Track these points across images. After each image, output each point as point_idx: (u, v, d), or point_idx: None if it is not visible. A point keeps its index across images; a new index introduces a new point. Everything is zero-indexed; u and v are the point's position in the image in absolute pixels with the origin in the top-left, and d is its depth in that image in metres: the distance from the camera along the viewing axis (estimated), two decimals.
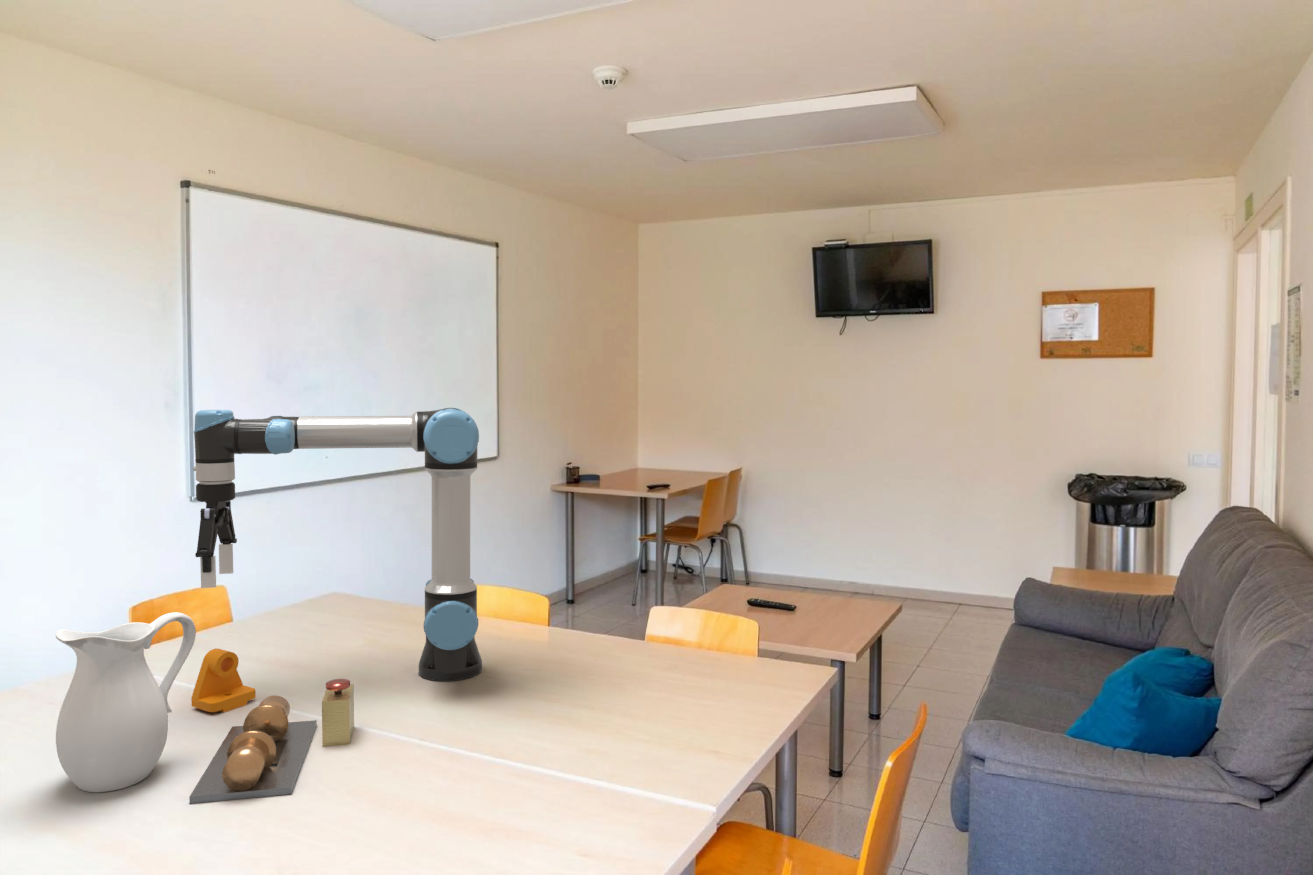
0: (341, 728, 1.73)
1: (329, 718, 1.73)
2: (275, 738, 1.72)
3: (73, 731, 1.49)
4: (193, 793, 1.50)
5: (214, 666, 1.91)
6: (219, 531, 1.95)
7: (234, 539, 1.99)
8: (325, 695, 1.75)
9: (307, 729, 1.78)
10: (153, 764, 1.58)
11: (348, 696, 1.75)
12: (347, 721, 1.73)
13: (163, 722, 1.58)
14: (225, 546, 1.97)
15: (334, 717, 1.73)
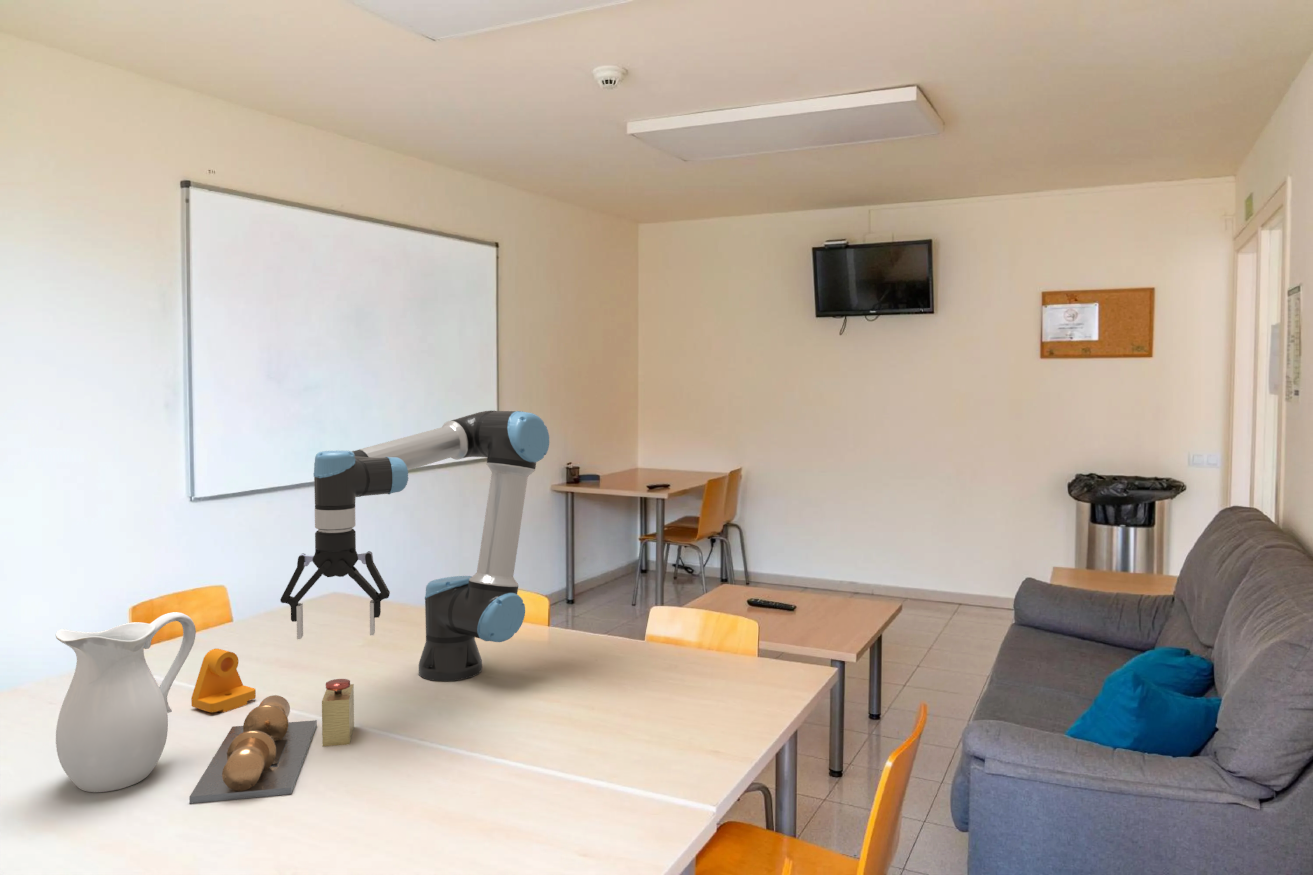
0: (341, 728, 1.73)
1: (329, 718, 1.73)
2: (275, 738, 1.72)
3: (73, 731, 1.49)
4: (193, 793, 1.50)
5: (214, 666, 1.91)
6: None
7: (377, 598, 1.76)
8: (325, 695, 1.75)
9: (307, 729, 1.78)
10: (153, 764, 1.58)
11: (348, 696, 1.75)
12: (347, 721, 1.73)
13: (163, 722, 1.58)
14: (370, 603, 1.77)
15: (334, 717, 1.73)
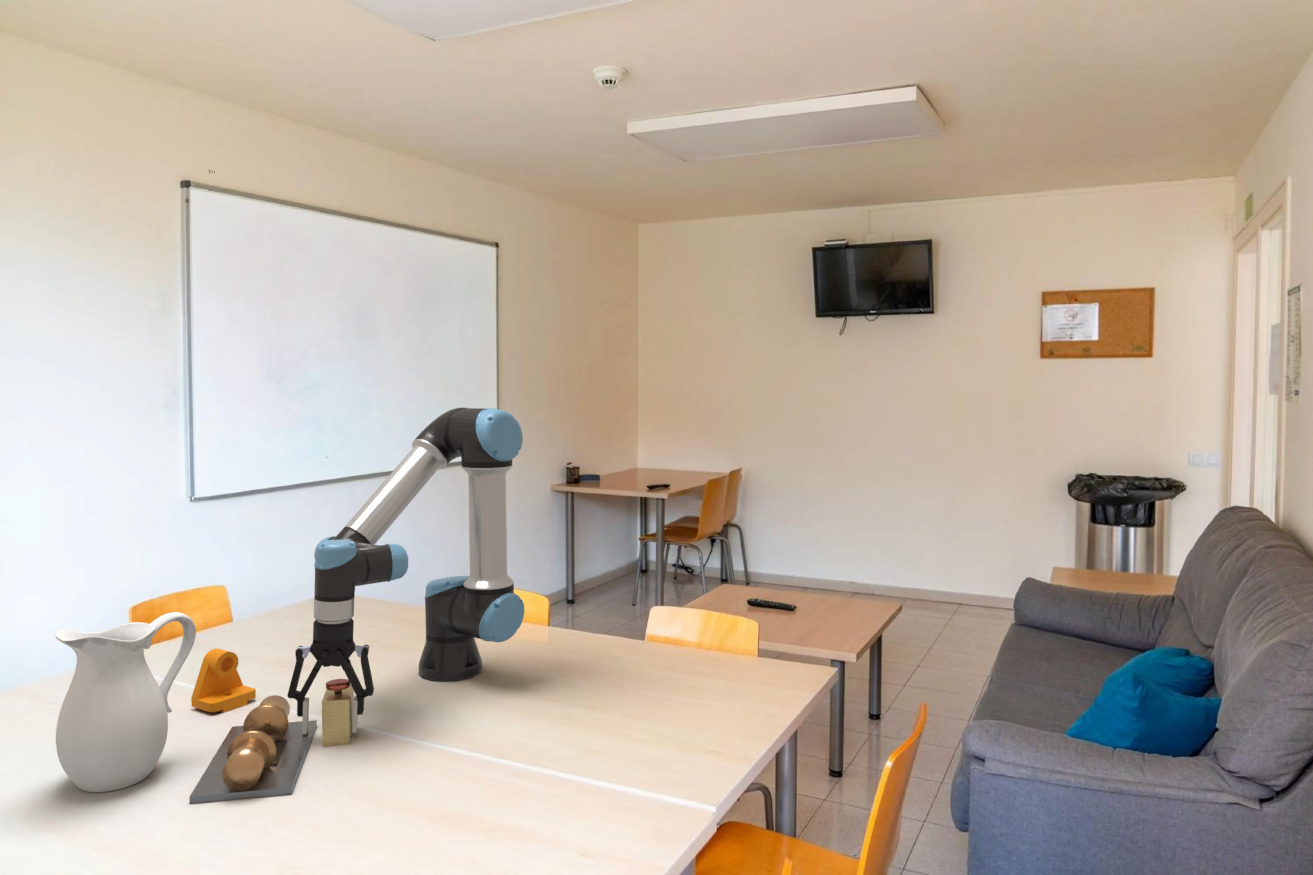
0: (341, 728, 1.73)
1: (329, 718, 1.73)
2: (275, 738, 1.72)
3: (73, 731, 1.49)
4: (193, 793, 1.50)
5: (214, 666, 1.91)
6: None
7: (361, 696, 1.76)
8: (325, 695, 1.75)
9: None
10: (153, 764, 1.58)
11: (348, 696, 1.75)
12: (347, 721, 1.73)
13: (163, 722, 1.58)
14: (353, 700, 1.78)
15: (334, 717, 1.73)
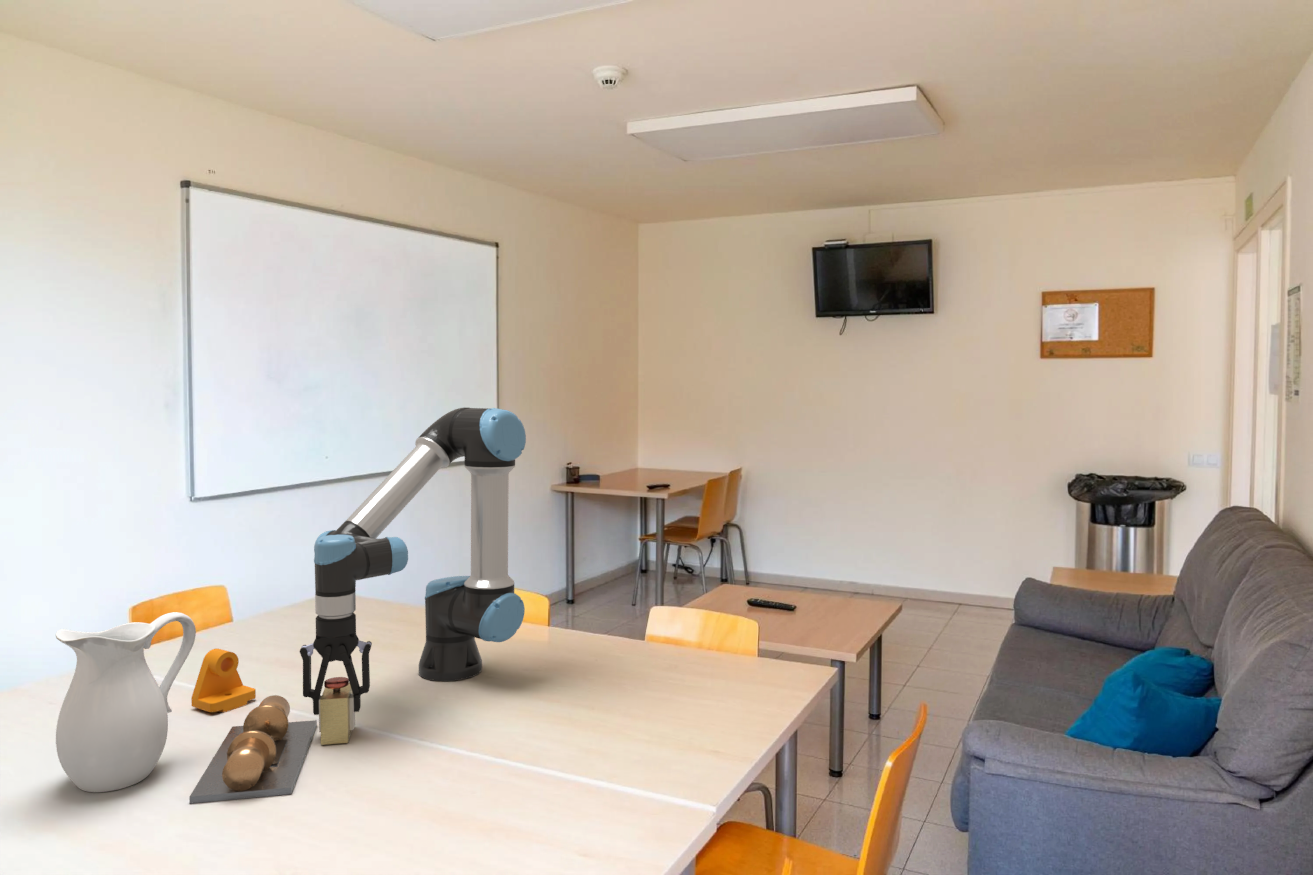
0: (340, 726, 1.73)
1: (328, 716, 1.73)
2: (275, 738, 1.72)
3: (73, 731, 1.49)
4: (193, 793, 1.50)
5: (214, 666, 1.91)
6: None
7: (357, 694, 1.76)
8: (324, 693, 1.75)
9: (307, 729, 1.78)
10: (153, 764, 1.58)
11: (346, 694, 1.75)
12: (345, 719, 1.73)
13: (163, 722, 1.58)
14: (350, 697, 1.78)
15: (332, 715, 1.73)
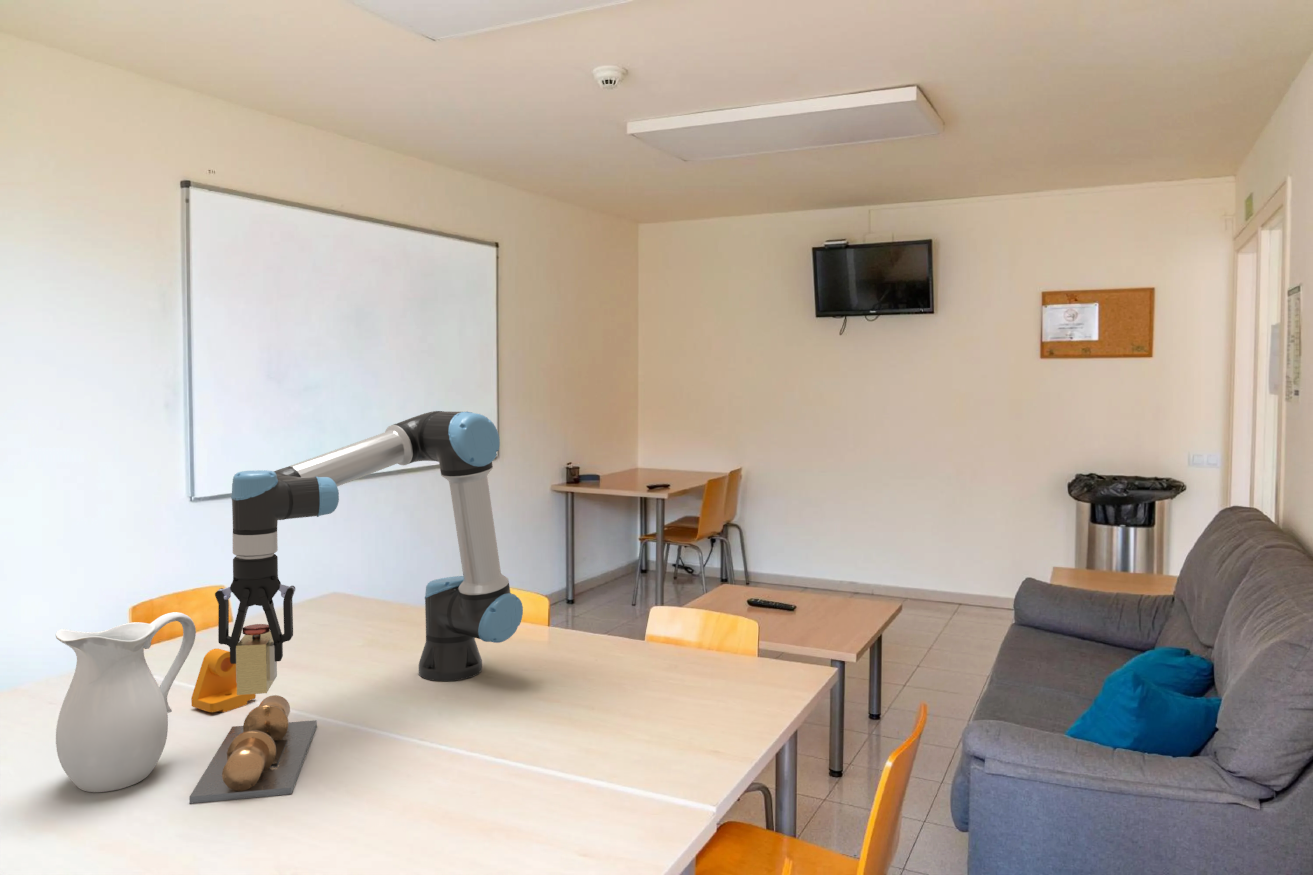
0: (258, 675, 1.60)
1: (244, 664, 1.60)
2: (275, 738, 1.72)
3: (73, 731, 1.49)
4: (193, 793, 1.50)
5: (214, 666, 1.91)
6: None
7: (278, 641, 1.64)
8: (241, 640, 1.62)
9: (307, 729, 1.78)
10: (153, 764, 1.58)
11: (266, 641, 1.62)
12: (264, 668, 1.61)
13: (163, 722, 1.58)
14: None
15: (250, 663, 1.60)
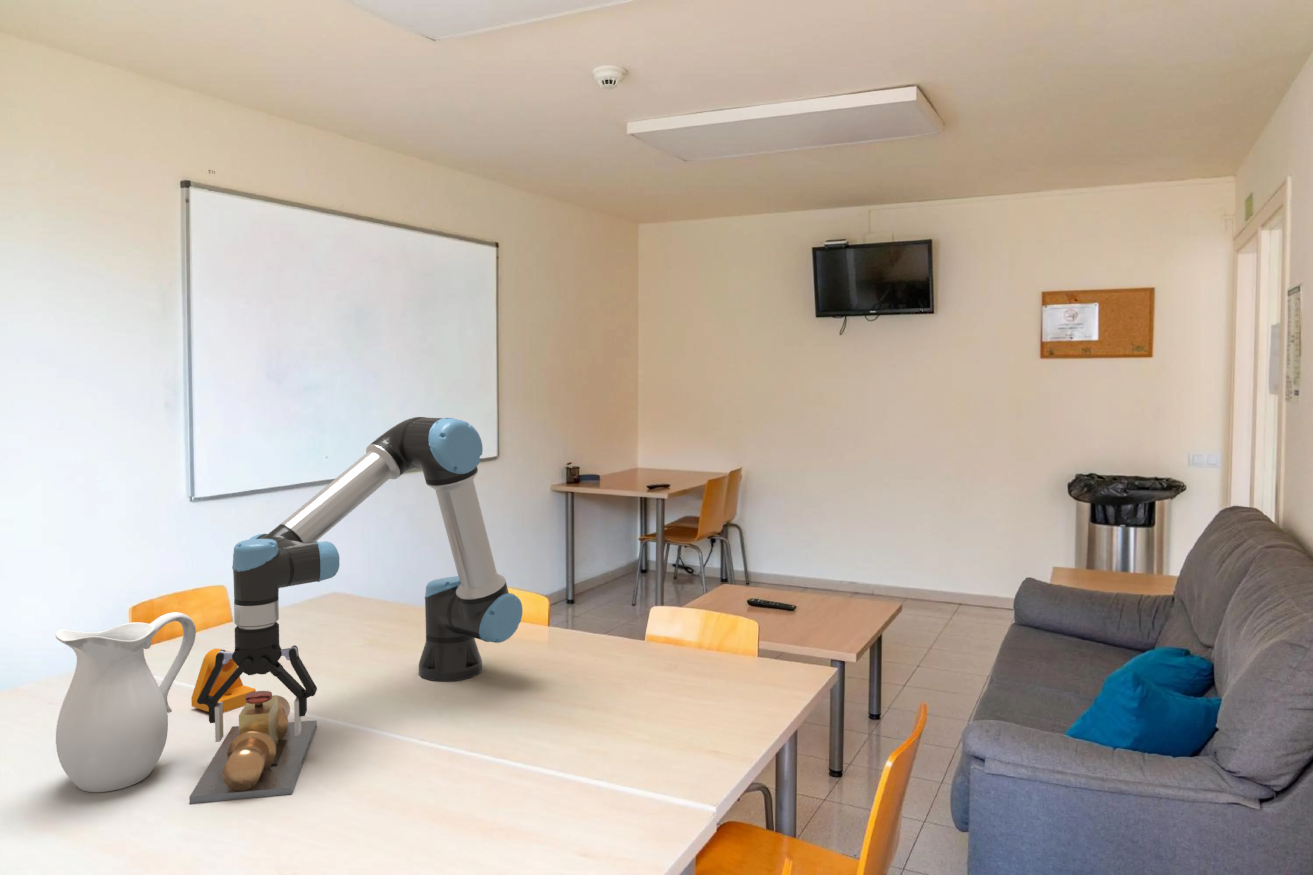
0: None
1: None
2: None
3: (73, 731, 1.49)
4: (193, 793, 1.50)
5: None
6: None
7: (302, 696, 1.65)
8: (244, 708, 1.63)
9: (307, 729, 1.78)
10: (153, 764, 1.58)
11: (268, 710, 1.63)
12: None
13: (163, 722, 1.58)
14: (295, 701, 1.67)
15: None
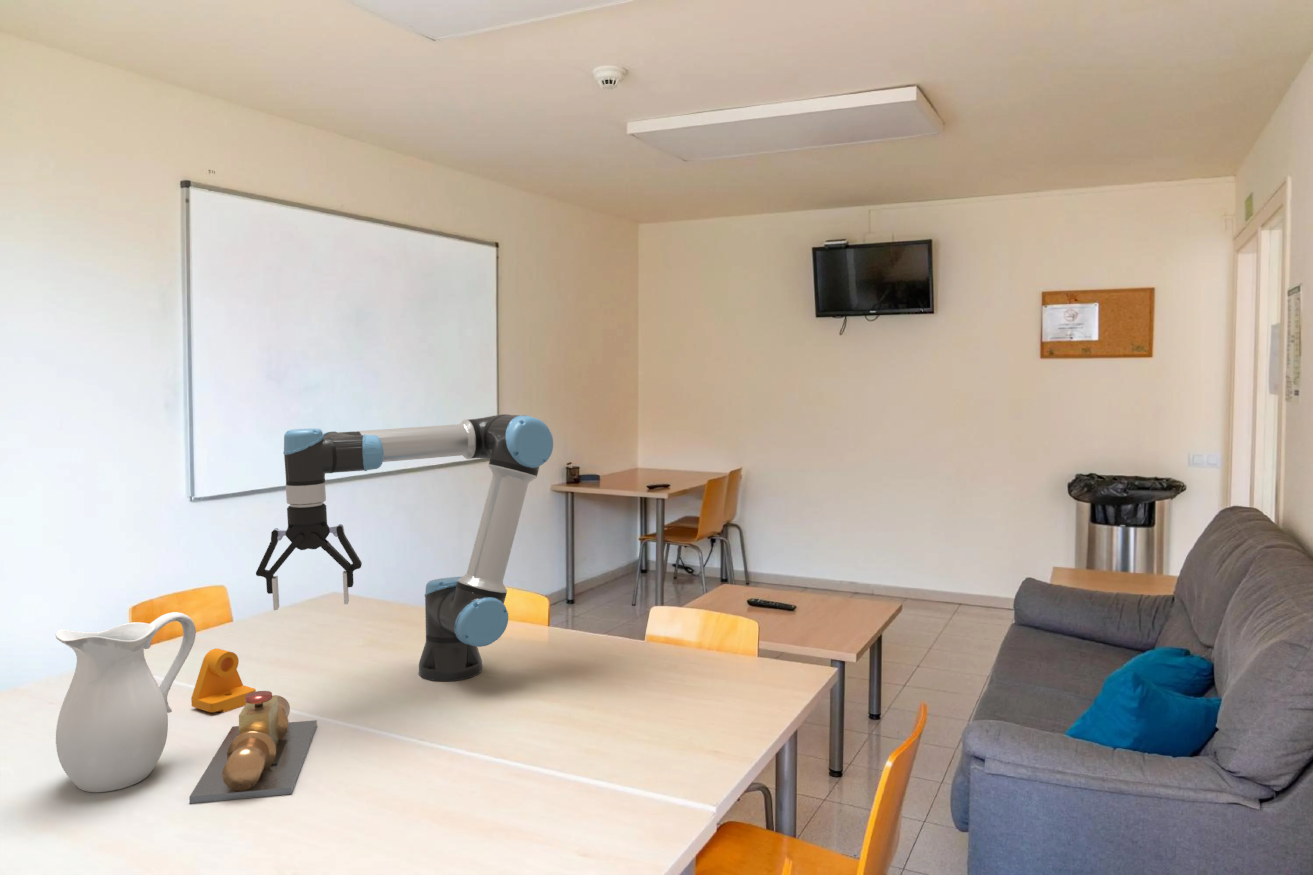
0: None
1: None
2: None
3: (73, 731, 1.49)
4: (193, 793, 1.50)
5: (214, 666, 1.91)
6: None
7: (350, 569, 1.84)
8: (244, 708, 1.63)
9: (307, 729, 1.78)
10: (153, 764, 1.58)
11: (268, 710, 1.63)
12: None
13: (163, 722, 1.58)
14: None
15: None
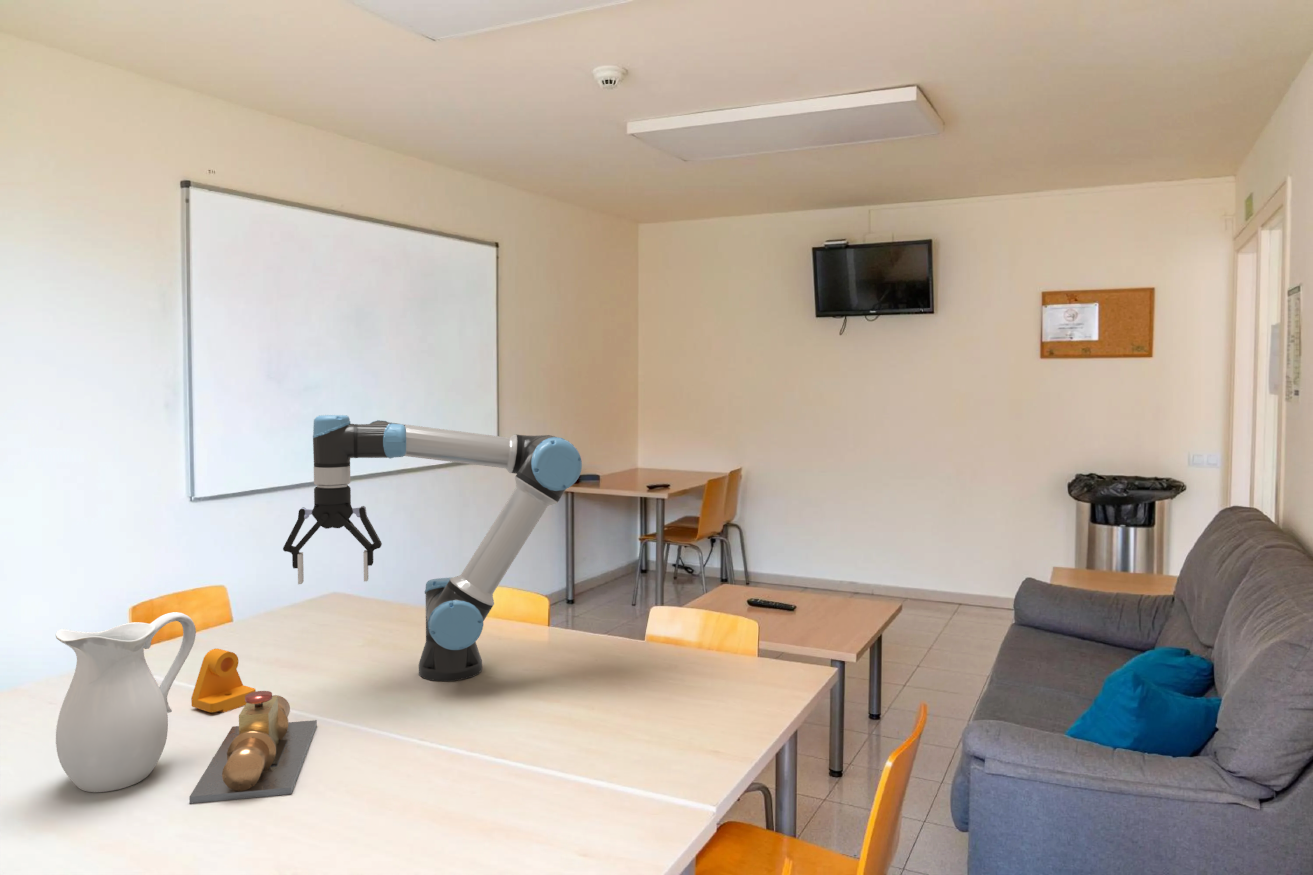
0: None
1: None
2: None
3: (73, 731, 1.49)
4: (193, 793, 1.50)
5: (214, 666, 1.91)
6: None
7: (370, 548, 1.95)
8: (244, 708, 1.63)
9: (307, 729, 1.78)
10: (153, 764, 1.58)
11: (268, 710, 1.63)
12: None
13: (163, 722, 1.58)
14: None
15: None
